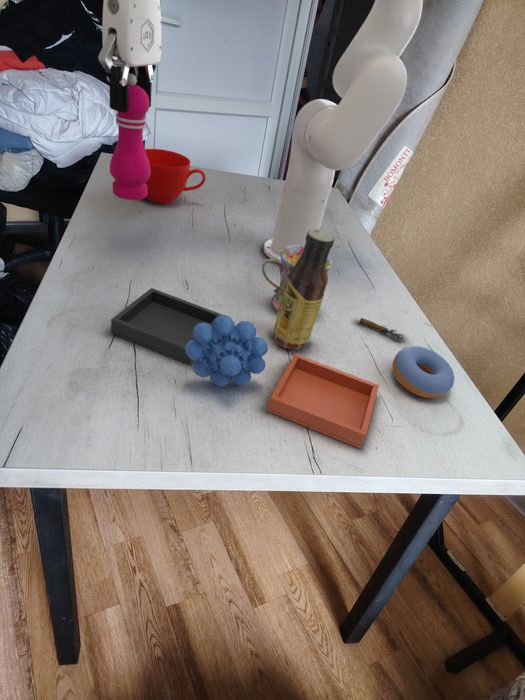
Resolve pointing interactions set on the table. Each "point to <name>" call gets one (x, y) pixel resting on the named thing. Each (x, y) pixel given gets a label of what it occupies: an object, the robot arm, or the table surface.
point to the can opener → (381, 329)
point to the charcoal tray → (161, 323)
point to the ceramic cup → (168, 175)
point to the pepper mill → (131, 147)
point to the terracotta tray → (324, 400)
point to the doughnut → (423, 372)
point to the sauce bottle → (303, 292)
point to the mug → (287, 269)
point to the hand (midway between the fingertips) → (131, 107)
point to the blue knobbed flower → (226, 351)
